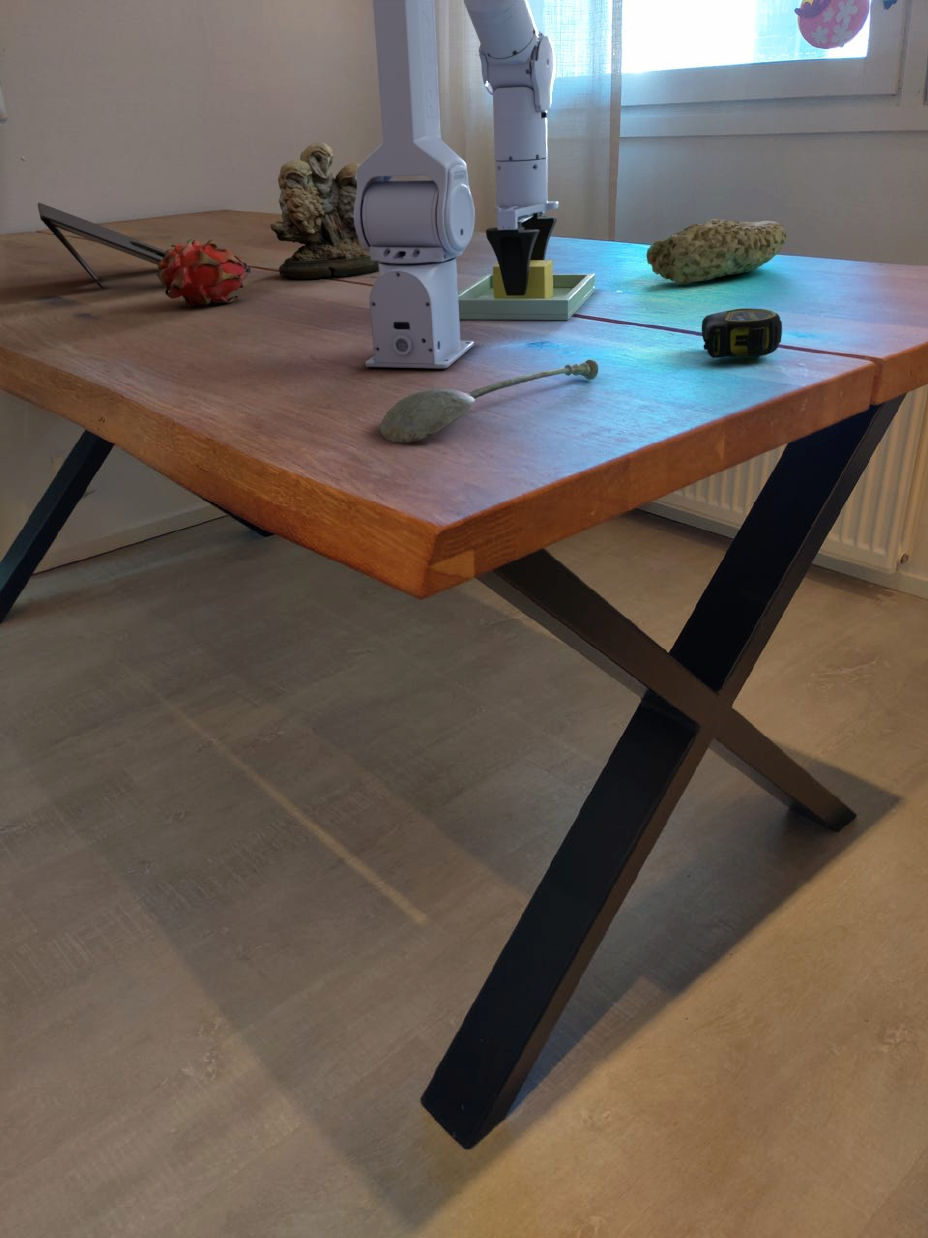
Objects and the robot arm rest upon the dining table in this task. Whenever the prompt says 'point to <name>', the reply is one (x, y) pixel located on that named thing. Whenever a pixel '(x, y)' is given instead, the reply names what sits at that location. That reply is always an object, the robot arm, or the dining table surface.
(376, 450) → the dining table surface
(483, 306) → the tray
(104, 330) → the dining table surface
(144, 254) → the laptop tray
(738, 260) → the sponge
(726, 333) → the tape measure
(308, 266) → the owl figurine
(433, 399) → the soupspoon
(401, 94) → the robot arm
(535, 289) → the yellow block
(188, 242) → the dragon fruit
